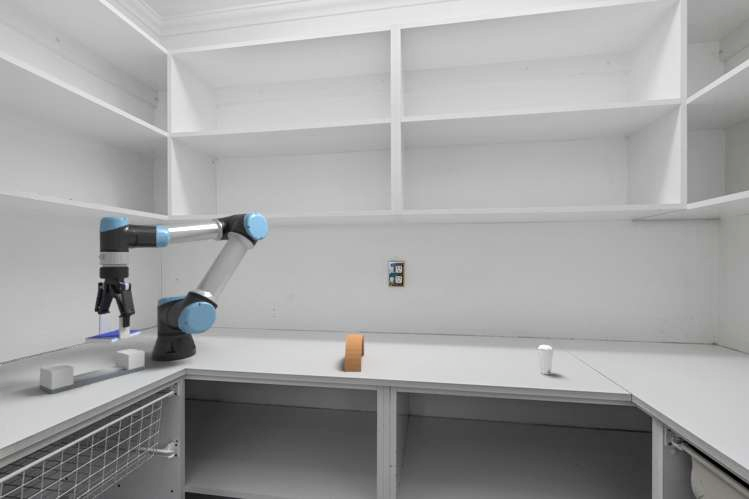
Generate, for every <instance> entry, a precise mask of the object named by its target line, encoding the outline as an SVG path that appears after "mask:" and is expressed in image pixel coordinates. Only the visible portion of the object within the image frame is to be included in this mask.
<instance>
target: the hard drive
mask: <svg viewBox="0 0 749 499" xmlns="http://www.w3.org/2000/svg"><path fill="white" fill-rule="evenodd" d="M140 334H141V330H140V329H130V337H127V338H122V339H119V329H116V330H112V331H111V330H110V332H107V333H104V334H100V335H99V334H97V335H93V336H92V335H91V336H89V337H86V338H84V339H85V340H84V341H85V344H112V343H115V342H119V341H122V340H125V339H128V338H131V337H134V336H138V335H140Z"/></svg>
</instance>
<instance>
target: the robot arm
mask: <svg viewBox="0 0 749 499" xmlns="http://www.w3.org/2000/svg"><path fill="white" fill-rule="evenodd" d="M98 233H99V255H98V258H99V265H100V267H99V279H101V280H103V279H104V280H103V281H100V282H99V281H98V283H97V295H96V301H95V305H94V312H95V313H97V315H98V335H100V334H104V333H107V332H111V330H110V329H111V328H110V325H111V324H110V323H111V320H110V318H111V316H110V315H111V311H110V308H111V305H112V302H113V299H115V302H116V305H117V308H118V311H119V315H118V330H119V339H122V338H125V339H128V338H131V337H130V330H131V328H130V327H131V326H130V325H131V324H130V323H131V316H132V315H133V316H134V315H135V313H136V310H135V305H134V304H135V303H134V299H133V292H132V283H131V282H128V283H126V282H125V279H128V278H129V276H130V274H129V273H130V268H129V267H128V265H129V264H130V249H131V250H133V249H145V248H152V249H153V248H156V249H158V248H166V247H168V245H171V244H172V245H173V244H182V243H188V242H189V243H190V242H198V241H199V242H200V241H207V240H214V241H215V242H220V241H227V242H226V243H225V244H224V246H223V247H222V249H221V250H220V252H219V254H218V255H217V257H215V259H214V261H213V262H212V264H211V265H210V267H209V268H208V270H207V272H206V273H205V274H204V276H203V278H202V279H201V281H200V283H199V284H198V285H197V287H196V288H195V289H193V290H189V291H188V293H187V294H186V295H178V296H176V295H175V296H168V297H161V298H159V299H158V301H157V306H156V310H157V311H156V312H157V313H156V314H157V315H156V316H157V319H156V320H157V321H156V322H157V324H156V325H157V332H156V333H157V334H156V335H157V336H156V340H155V343H154V346H153V348H152V351H151V359H152V360H154V361H175V360H180V359H186V358H190V357H192V356H195V355H196V353H197V346H196V344H195V341H194V338H193V335H199V334H203V333H206V332H207V331H208V330H209V329H211V328H212V326H214V324H215V322H216V319H217V315H216V314H217V311H216V310H217V308H218V307H219V303H218V299H219V298H220V296H221V294H222V292H223V291H224V289H225V287H226V285H227V284H228V283H229V281H230V279H231V278H232V277H233V274H234V273H235V271H236V270H237V268H238V266H239V265H240V263H241V262H242V260H243V259H244V257H245V255H246V254H247V252H248V251H249V250H253V249H254V248H255V246H256V244H257V243H258V241H262V240H264V239H265V238H267V235H268V233H269V224H268V220H267V219H266V218H265V216H264V215H263V214H261V213H259V212H251V211H250V212H246V213H238V214H233V215H228V216H224V217H218V218H212V219H211V220H209V221H198V222H197V221H196V222H186V223H171V224H162V225H161V224H160V225H158V224H157V225H148V224H147V225H146V224H132V223H130V220H129V218H127V217H124V216H123V217H121V216H103V217H102V218H101V219H100V222H99V231H98ZM127 337H128V338H127ZM122 340H123V339H122Z"/></svg>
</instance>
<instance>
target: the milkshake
mask: <svg viewBox="0 0 749 499" xmlns="http://www.w3.org/2000/svg"><path fill="white" fill-rule="evenodd" d="M554 347H555V344H553V345H552V346H551V345H550V344H549V345H548V344H541V345H539V346H538V347H537V351H538V361H539V373H540V374H543V375H547V376H549V375H552V369H553V356H554Z"/></svg>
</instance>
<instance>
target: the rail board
mask: <svg viewBox="0 0 749 499" xmlns="http://www.w3.org/2000/svg"><path fill="white" fill-rule="evenodd" d="M145 354H146V352H145V350H141V349H135V348H128V349H122V350H117V351H116V352H115V365H113V366H109V367H104V368H100V369H97V370H91V371H88V372H84V373H79V374H76V375H74V366H71V365H67V364H66V363H62V362H61V363H56V364H52V365H47V366H41V367H40V368H39V370H40V371H39V389H40V390H41V391H44V392H46V393H48V394H51V395H53V394H57V393H60V392H64V391H67V390H72V389H77V388H80V387H84V386H88V385H91V384H94V383H98V382H102V381H105V380H110V379H114V378H117V377H122V376H125V375H129V374H132V373H136V372H140V371H143V370H145Z"/></svg>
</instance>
